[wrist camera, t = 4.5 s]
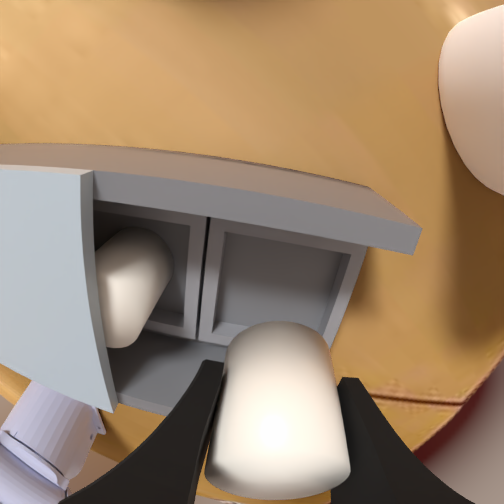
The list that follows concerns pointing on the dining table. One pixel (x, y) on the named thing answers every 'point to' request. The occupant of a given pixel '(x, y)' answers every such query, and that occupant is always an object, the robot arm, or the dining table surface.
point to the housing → (225, 250)
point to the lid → (52, 283)
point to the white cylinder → (476, 93)
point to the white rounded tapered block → (130, 282)
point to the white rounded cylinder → (277, 416)
